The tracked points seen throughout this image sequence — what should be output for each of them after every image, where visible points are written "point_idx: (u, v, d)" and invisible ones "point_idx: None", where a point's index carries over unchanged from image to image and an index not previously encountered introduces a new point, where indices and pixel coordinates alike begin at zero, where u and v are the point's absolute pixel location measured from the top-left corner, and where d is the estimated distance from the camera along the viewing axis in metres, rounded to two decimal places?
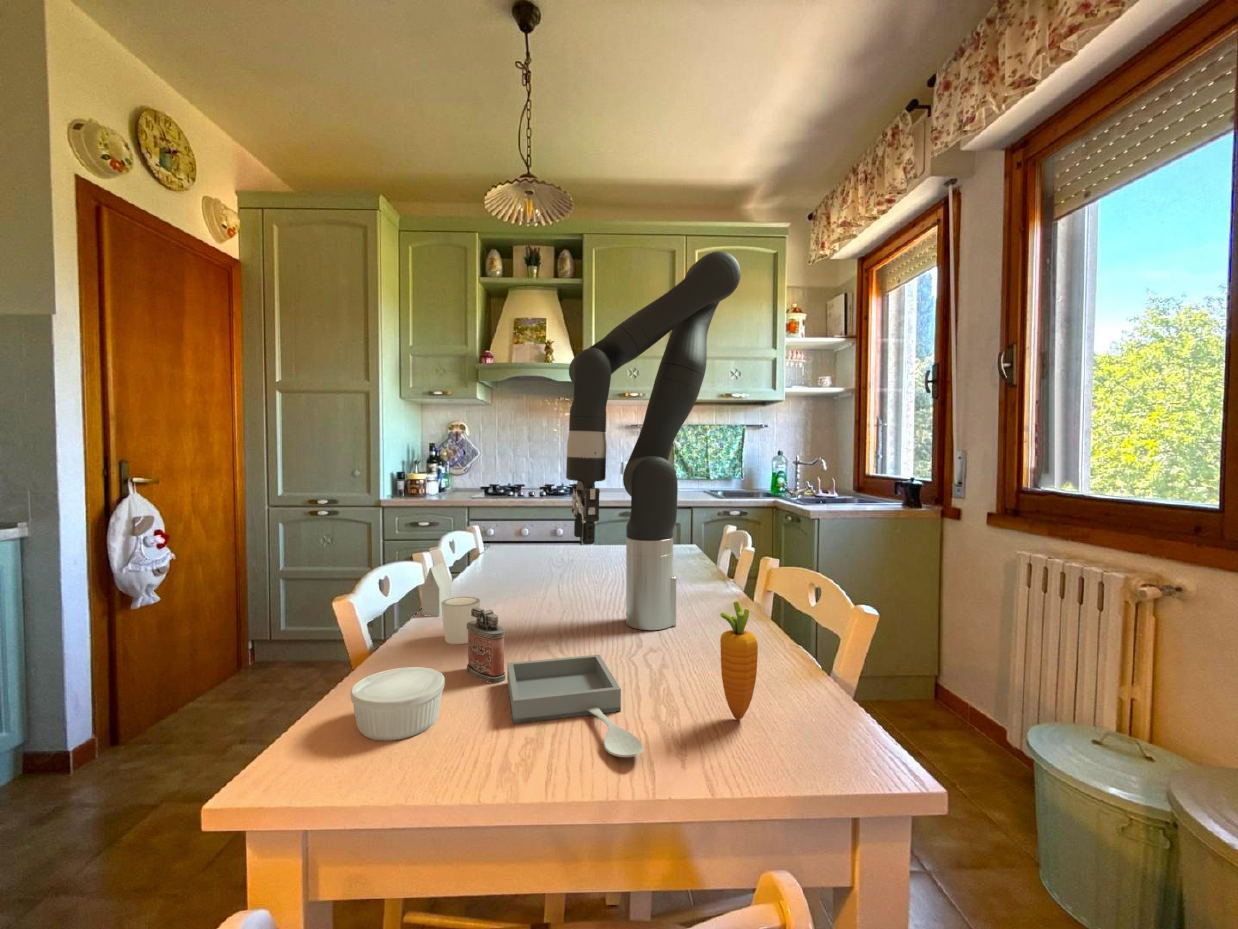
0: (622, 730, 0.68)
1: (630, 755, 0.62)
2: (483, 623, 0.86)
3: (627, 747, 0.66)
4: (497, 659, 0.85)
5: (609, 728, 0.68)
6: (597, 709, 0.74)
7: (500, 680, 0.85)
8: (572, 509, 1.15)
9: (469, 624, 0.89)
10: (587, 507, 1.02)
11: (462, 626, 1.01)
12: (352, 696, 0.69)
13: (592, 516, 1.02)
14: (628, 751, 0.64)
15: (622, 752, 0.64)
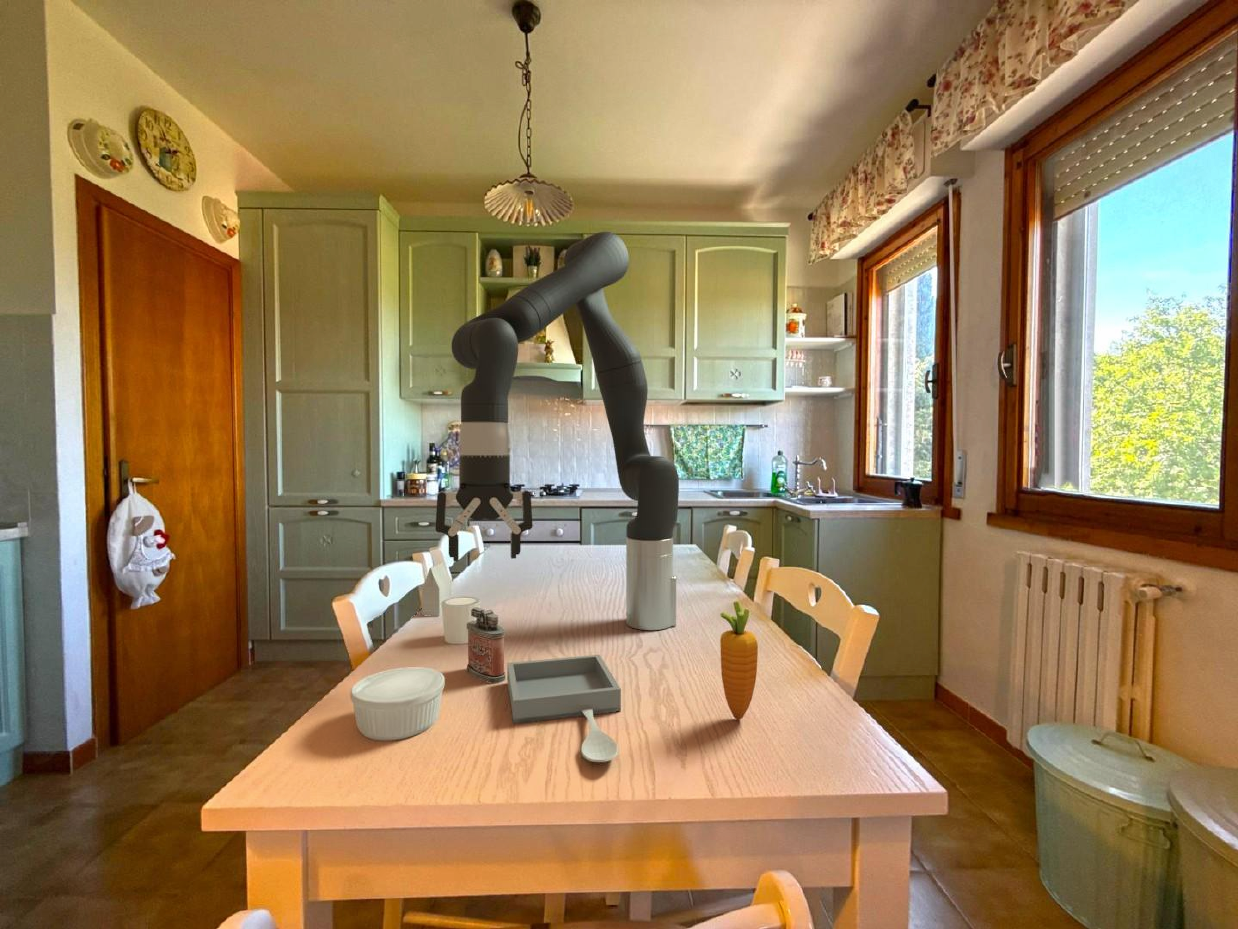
0: (603, 734, 0.66)
1: (599, 760, 0.61)
2: (483, 623, 0.86)
3: (604, 752, 0.64)
4: (497, 659, 0.85)
5: (591, 731, 0.67)
6: (590, 711, 0.73)
7: (500, 680, 0.85)
8: (440, 527, 0.84)
9: (469, 624, 0.89)
10: (531, 513, 0.88)
11: (462, 626, 1.01)
12: (352, 696, 0.69)
13: None
14: (603, 756, 0.63)
15: (597, 756, 0.63)
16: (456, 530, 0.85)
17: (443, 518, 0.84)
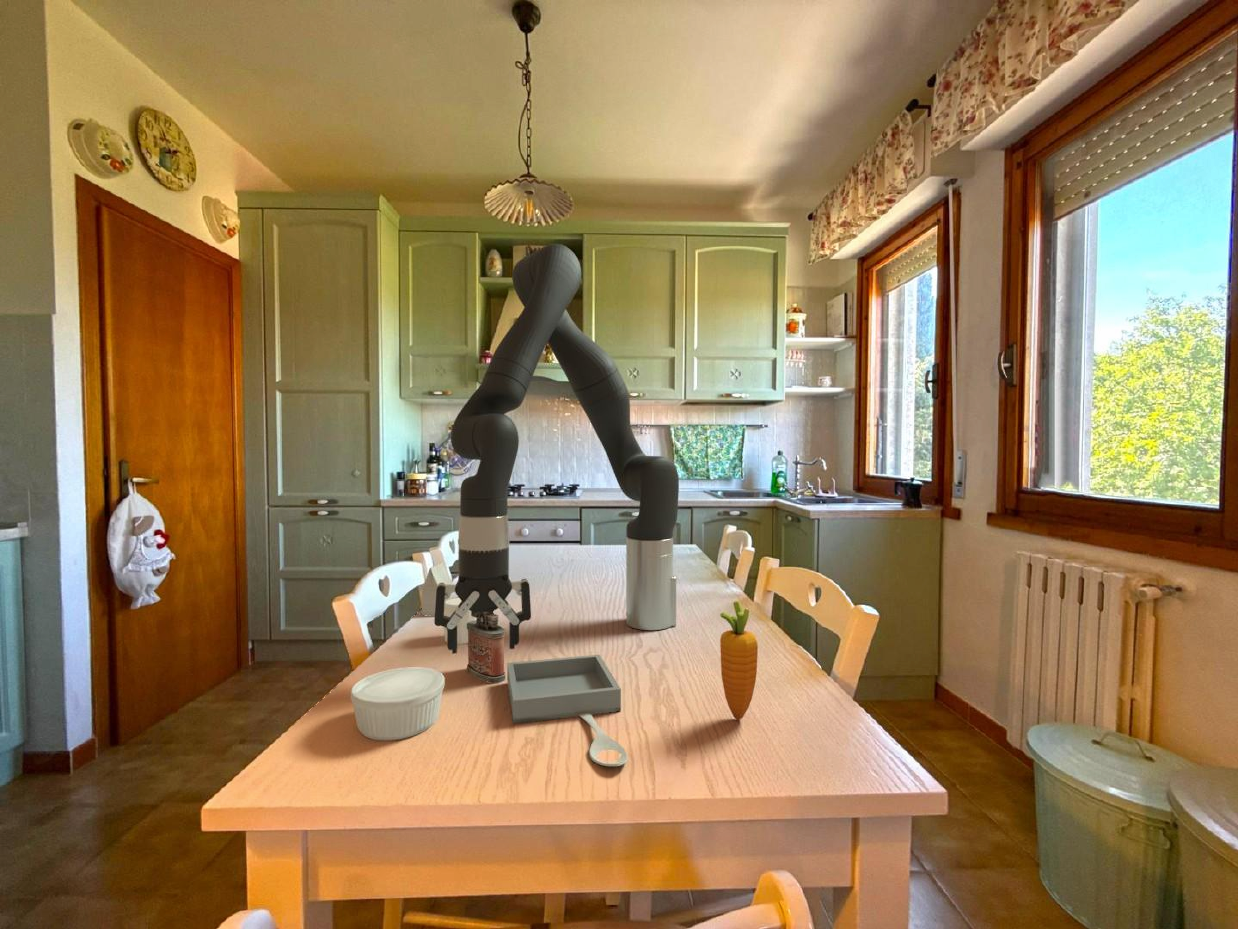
0: (610, 739, 0.67)
1: (612, 764, 0.61)
2: (483, 623, 0.86)
3: None
4: (497, 659, 0.85)
5: (597, 736, 0.67)
6: (590, 716, 0.73)
7: (500, 680, 0.85)
8: (439, 620, 0.85)
9: (469, 624, 0.89)
10: None
11: (462, 626, 1.01)
12: (352, 696, 0.69)
13: None
14: None
15: None
16: (455, 623, 0.85)
17: (442, 612, 0.85)
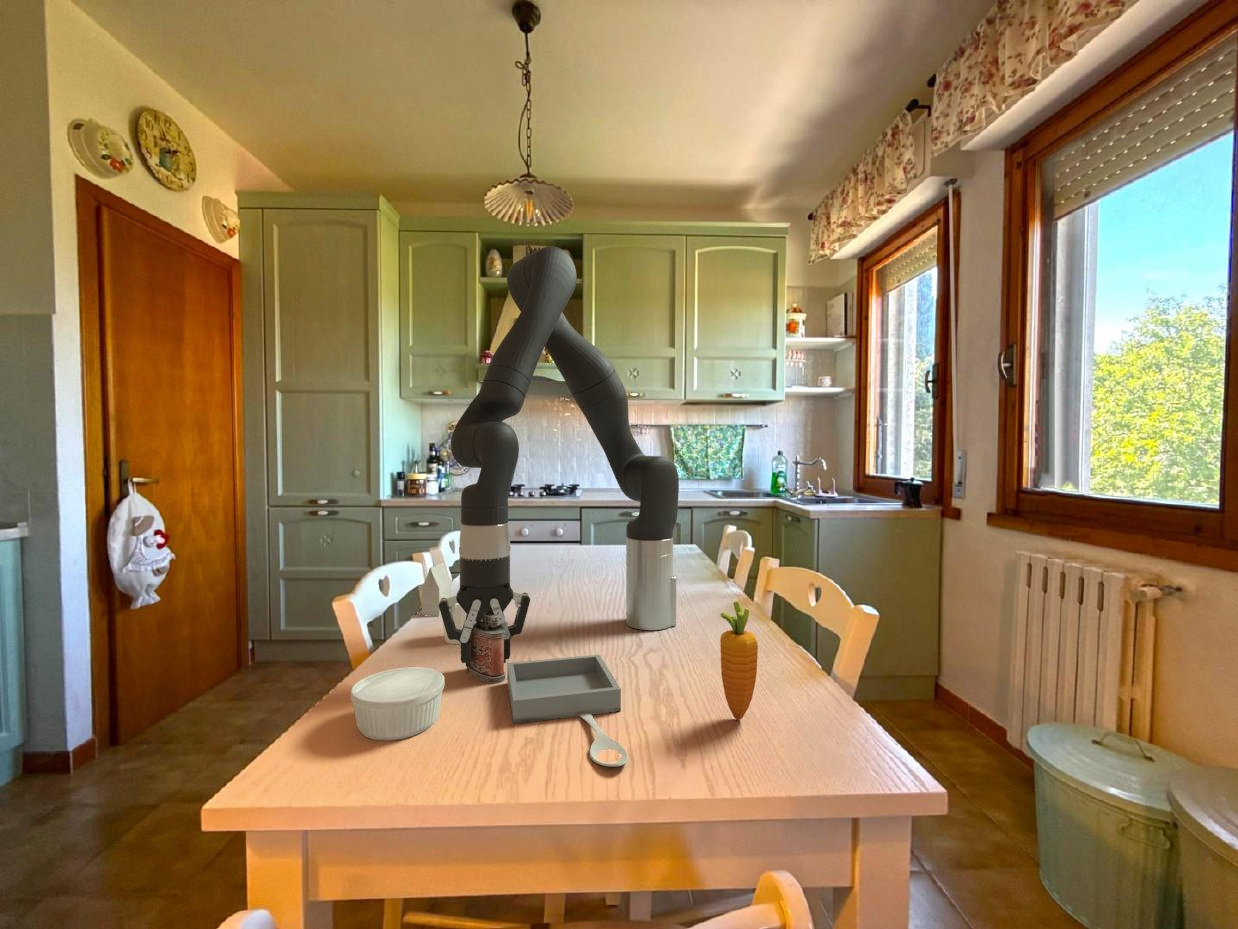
0: (610, 739, 0.67)
1: (613, 765, 0.61)
2: (483, 623, 0.86)
3: None
4: (497, 659, 0.85)
5: (597, 736, 0.67)
6: (590, 716, 0.73)
7: (500, 680, 0.85)
8: (452, 634, 0.85)
9: None
10: None
11: (462, 626, 1.01)
12: (352, 696, 0.69)
13: None
14: None
15: None
16: (468, 636, 0.86)
17: (452, 625, 0.85)
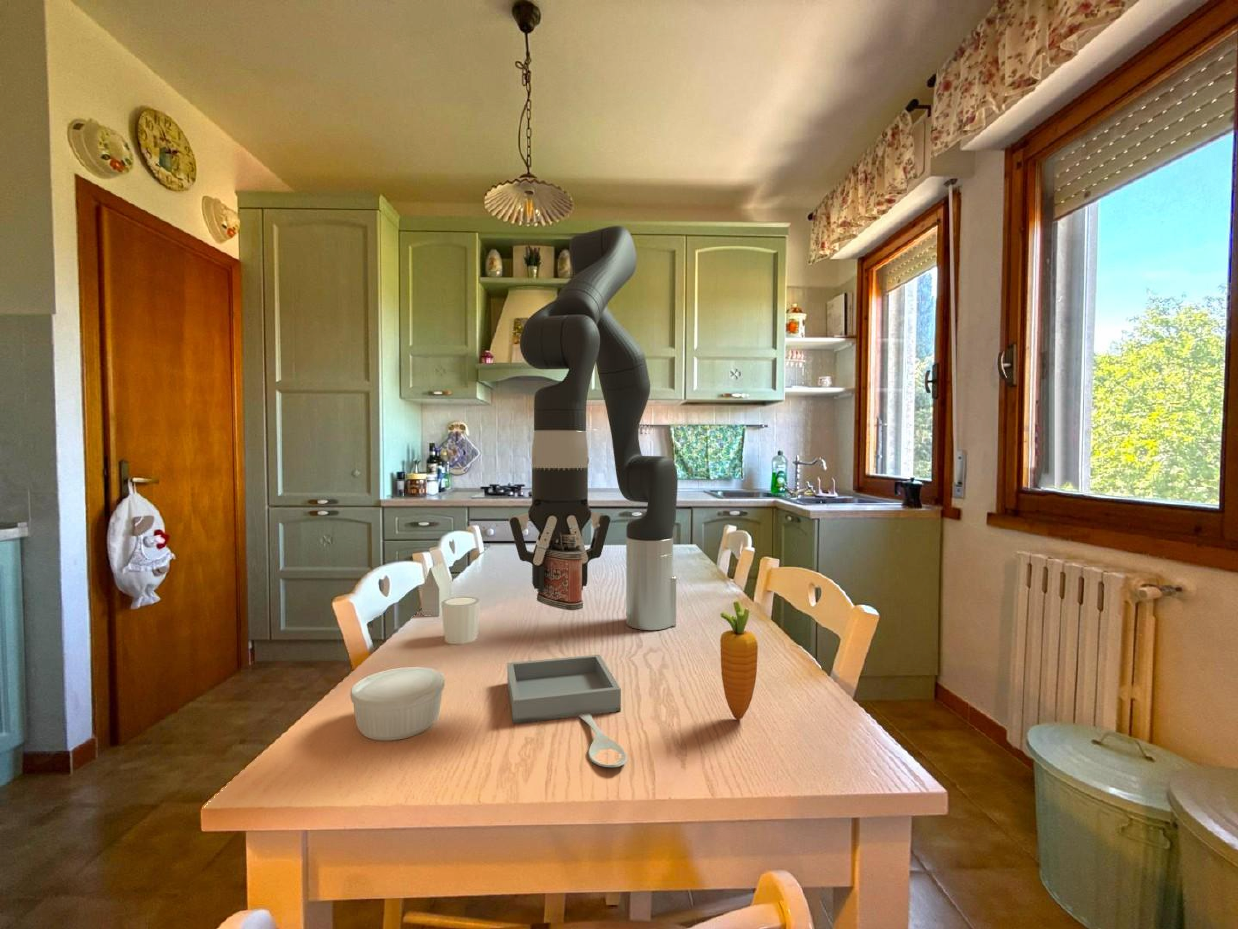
0: (609, 740, 0.67)
1: (611, 765, 0.61)
2: (558, 544, 0.76)
3: None
4: (575, 583, 0.74)
5: (596, 736, 0.67)
6: (589, 717, 0.73)
7: (578, 607, 0.74)
8: (524, 555, 0.75)
9: None
10: None
11: (462, 626, 1.01)
12: (352, 696, 0.69)
13: None
14: None
15: None
16: (542, 558, 0.75)
17: (524, 544, 0.75)
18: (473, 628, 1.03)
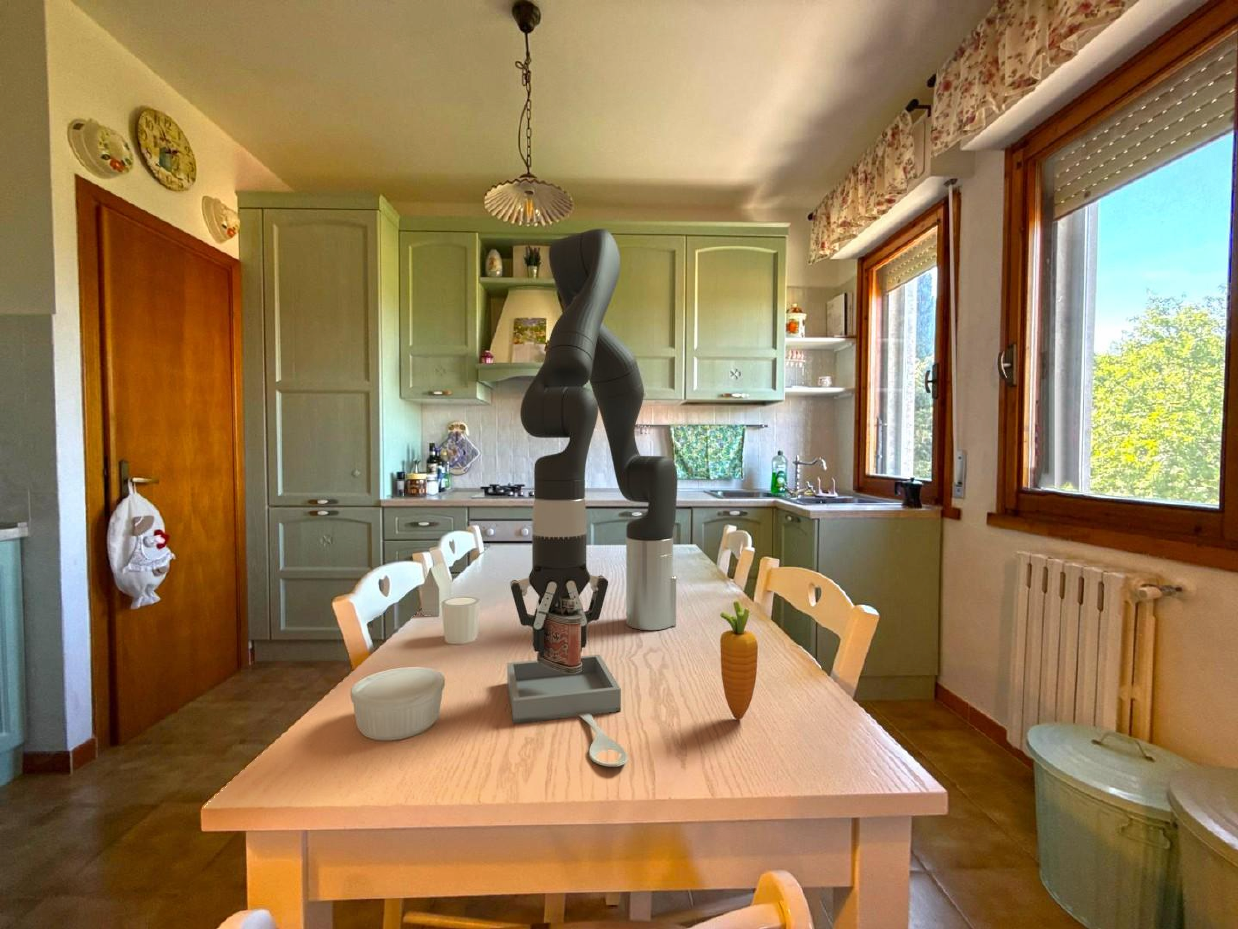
0: (610, 739, 0.67)
1: (612, 765, 0.61)
2: (558, 607, 0.79)
3: None
4: (575, 647, 0.77)
5: (597, 736, 0.67)
6: (589, 716, 0.73)
7: (577, 670, 0.77)
8: (525, 619, 0.77)
9: None
10: (602, 603, 0.80)
11: (462, 626, 1.01)
12: (352, 696, 0.69)
13: None
14: None
15: None
16: (542, 622, 0.78)
17: (525, 609, 0.77)
18: (473, 628, 1.03)
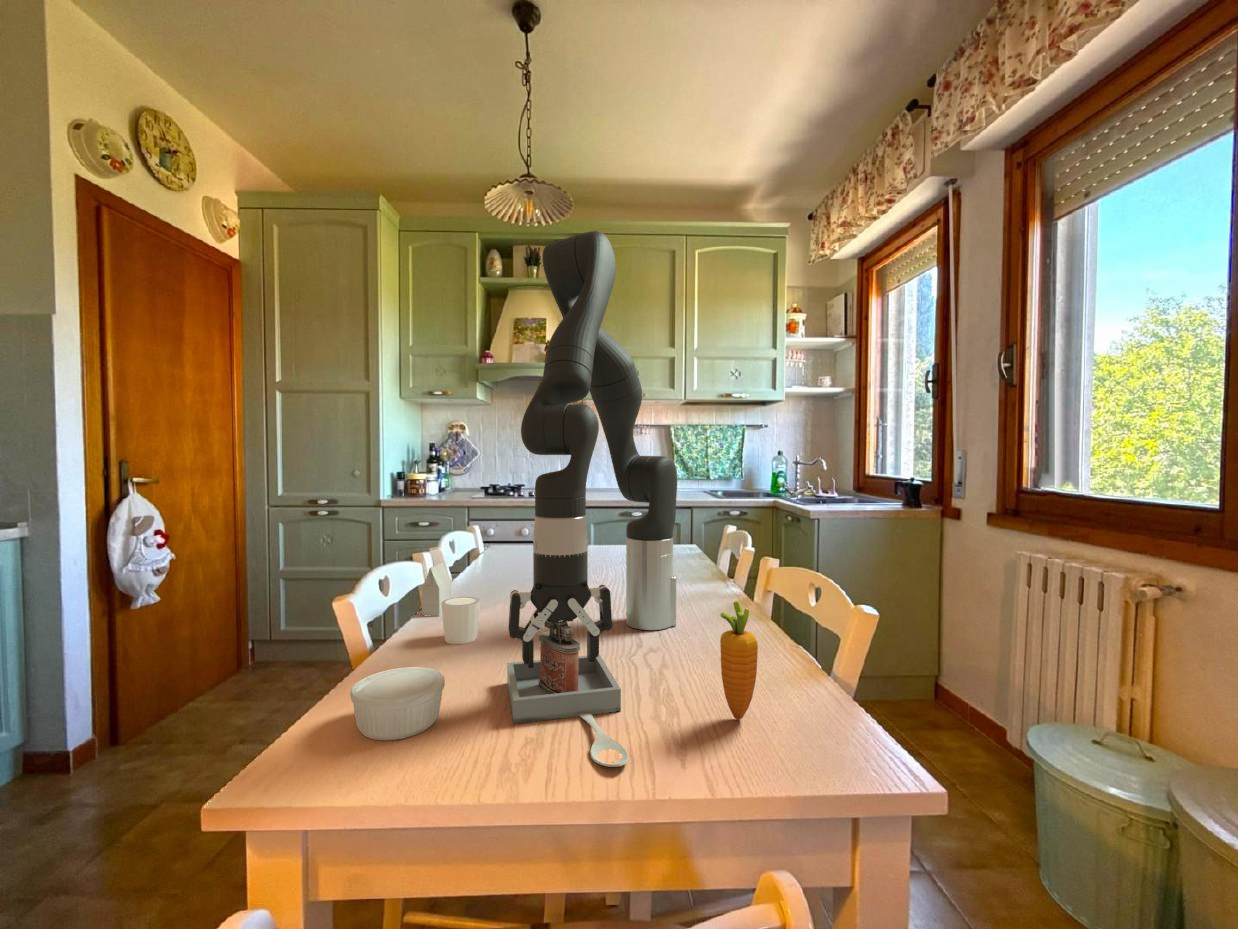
0: (611, 739, 0.67)
1: (614, 765, 0.61)
2: (556, 635, 0.79)
3: None
4: (571, 677, 0.77)
5: (598, 736, 0.67)
6: (590, 716, 0.73)
7: None
8: (515, 632, 0.77)
9: (542, 635, 0.81)
10: None
11: (462, 626, 1.01)
12: (352, 696, 0.69)
13: None
14: None
15: None
16: (531, 635, 0.77)
17: (518, 622, 0.77)
18: (473, 628, 1.03)
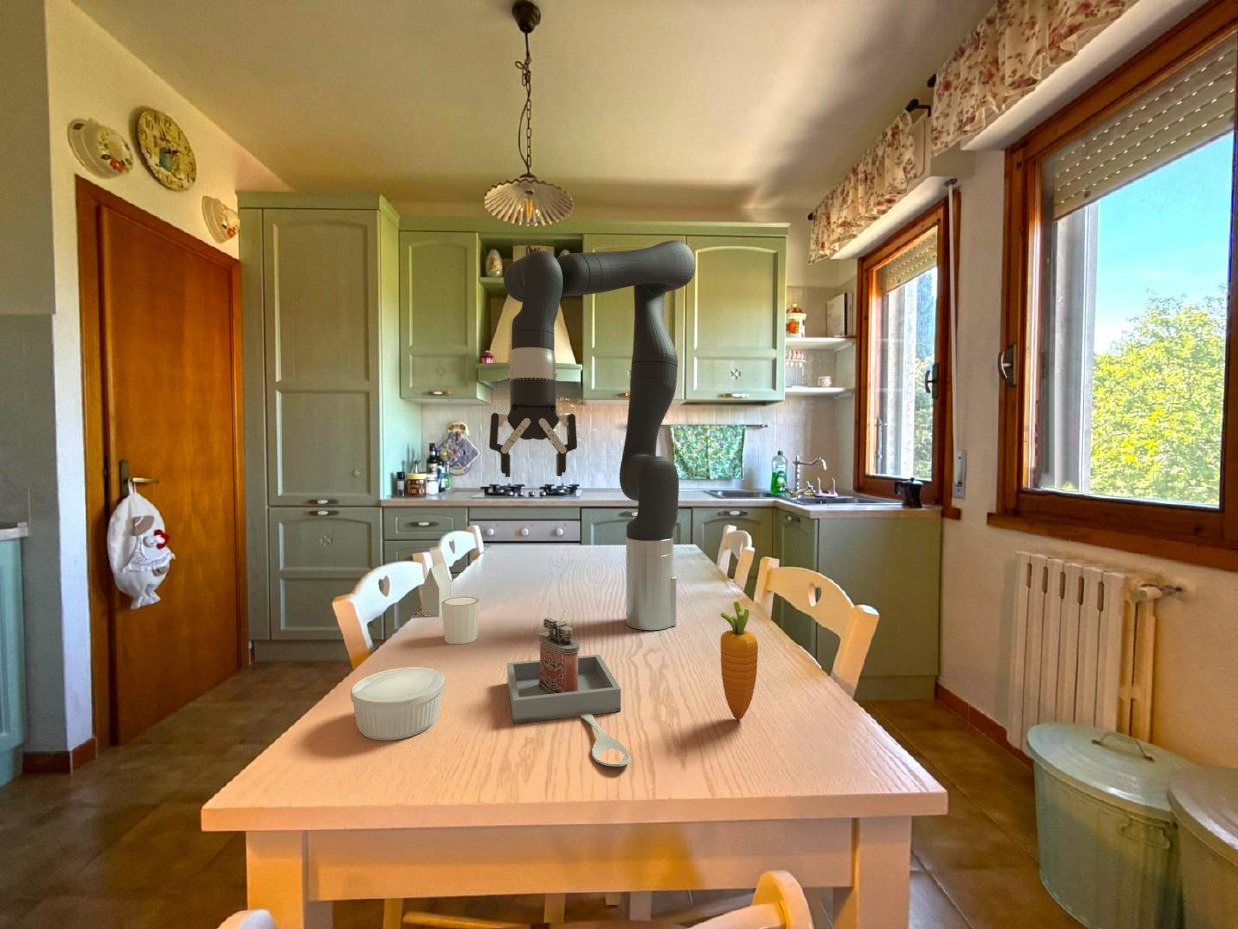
0: (612, 739, 0.67)
1: (615, 764, 0.61)
2: (556, 636, 0.79)
3: None
4: (571, 677, 0.77)
5: (599, 736, 0.67)
6: (591, 716, 0.73)
7: None
8: (494, 444, 0.92)
9: (541, 636, 0.81)
10: None
11: (462, 626, 1.01)
12: (352, 696, 0.69)
13: None
14: None
15: None
16: (508, 448, 0.92)
17: (496, 436, 0.92)
18: (473, 628, 1.03)
